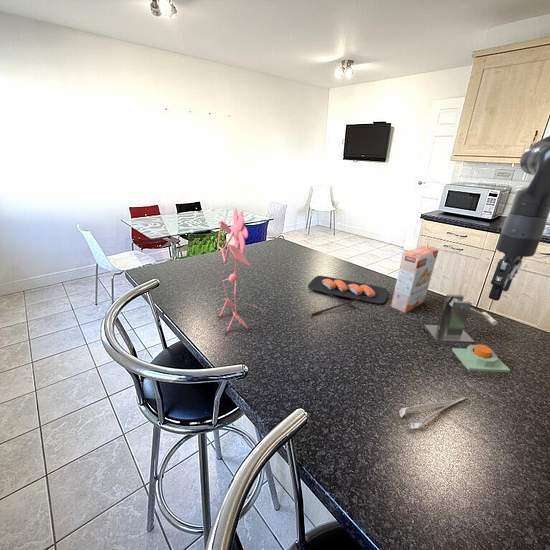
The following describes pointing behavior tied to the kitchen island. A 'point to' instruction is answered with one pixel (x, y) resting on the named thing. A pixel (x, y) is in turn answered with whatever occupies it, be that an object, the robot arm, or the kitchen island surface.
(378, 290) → the sushi plate
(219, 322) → the kitchen island surface
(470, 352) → the button block
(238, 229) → the figurine
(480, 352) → the button
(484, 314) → the lever
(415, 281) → the cracker box
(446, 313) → the bracket
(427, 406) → the tweezers
